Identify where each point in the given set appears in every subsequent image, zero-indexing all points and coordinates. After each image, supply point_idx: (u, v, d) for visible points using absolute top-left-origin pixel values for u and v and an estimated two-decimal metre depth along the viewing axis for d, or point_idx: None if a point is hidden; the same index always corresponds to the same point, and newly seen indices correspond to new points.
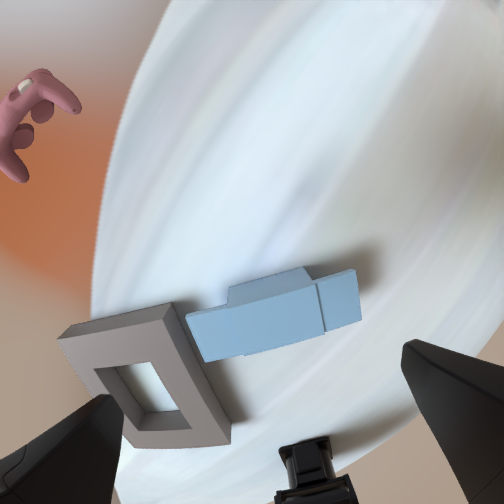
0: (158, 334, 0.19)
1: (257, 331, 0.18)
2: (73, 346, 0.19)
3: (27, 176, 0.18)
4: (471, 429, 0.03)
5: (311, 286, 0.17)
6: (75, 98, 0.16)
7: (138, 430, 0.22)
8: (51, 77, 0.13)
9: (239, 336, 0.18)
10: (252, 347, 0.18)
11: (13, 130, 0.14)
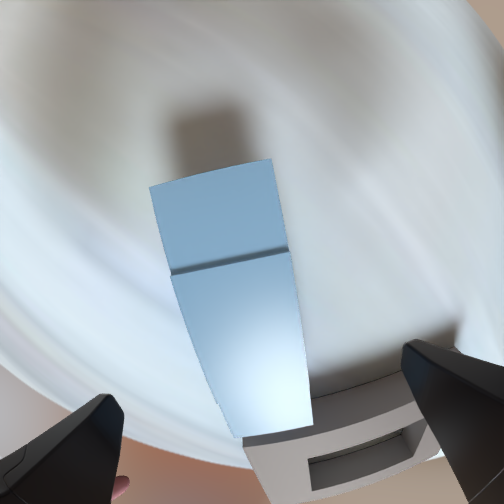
0: (265, 451, 0.12)
1: (261, 371, 0.10)
2: (281, 500, 0.15)
3: (124, 478, 0.18)
4: (471, 429, 0.03)
5: (174, 283, 0.09)
6: None
7: (412, 455, 0.15)
8: None
9: (268, 393, 0.10)
10: (294, 377, 0.10)
11: None
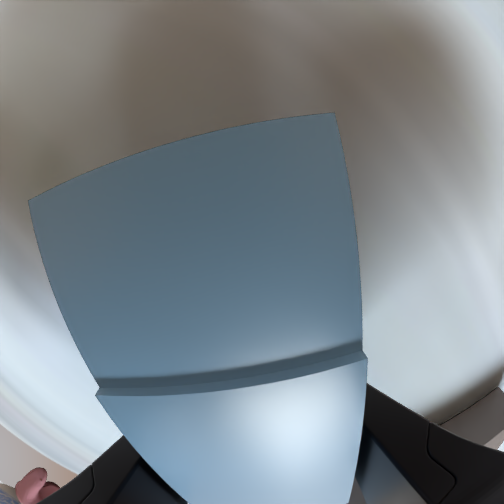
0: None
1: (280, 502, 0.04)
2: None
3: None
4: (375, 478, 0.03)
5: (106, 405, 0.03)
6: (32, 473, 0.10)
7: None
8: (18, 487, 0.08)
9: None
10: (330, 500, 0.04)
11: None
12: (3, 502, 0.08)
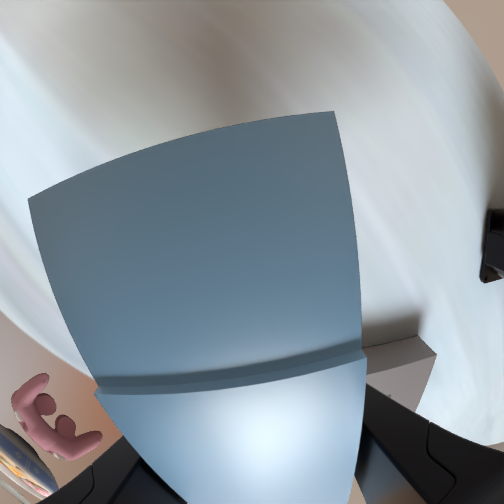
0: None
1: (279, 502, 0.04)
2: None
3: (97, 433, 0.20)
4: (375, 478, 0.03)
5: (105, 404, 0.03)
6: (35, 377, 0.17)
7: None
8: (17, 392, 0.15)
9: None
10: (329, 499, 0.04)
11: (52, 434, 0.16)
12: None
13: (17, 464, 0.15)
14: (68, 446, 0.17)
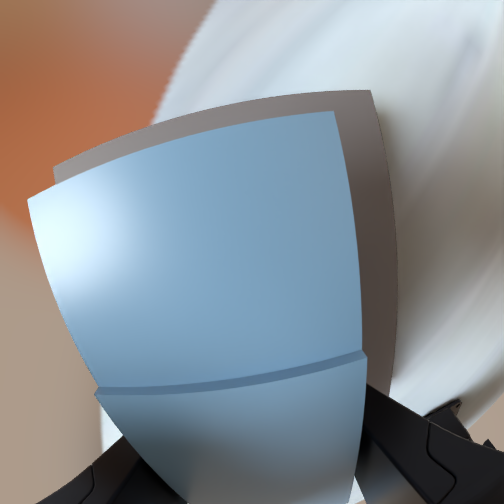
0: (357, 121, 0.08)
1: (280, 502, 0.04)
2: None
3: None
4: (375, 478, 0.03)
5: (105, 405, 0.03)
6: None
7: None
8: None
9: None
10: (330, 499, 0.04)
11: None
12: None
13: None
14: None
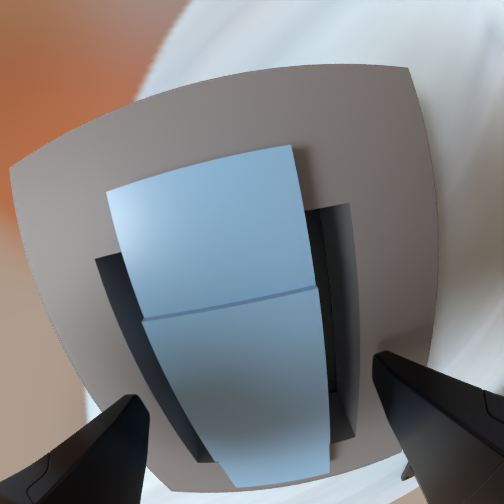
0: (395, 105, 0.05)
1: (271, 432, 0.07)
2: (49, 176, 0.06)
3: None
4: (436, 450, 0.03)
5: (148, 330, 0.06)
6: None
7: (198, 460, 0.09)
8: None
9: (279, 452, 0.07)
10: (313, 435, 0.07)
11: None
12: None
13: None
14: None
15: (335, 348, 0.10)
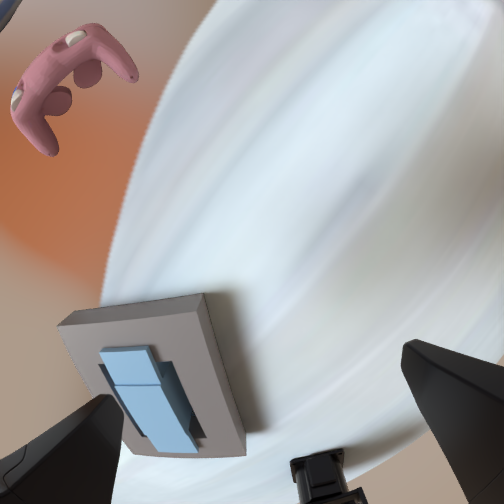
0: (188, 329, 0.16)
1: (160, 425, 0.18)
2: (76, 336, 0.17)
3: (57, 149, 0.16)
4: (471, 429, 0.03)
5: (116, 388, 0.17)
6: (133, 64, 0.14)
7: (142, 436, 0.19)
8: (109, 35, 0.11)
9: (167, 434, 0.18)
10: (177, 430, 0.18)
11: (50, 89, 0.12)
12: None
13: None
14: (33, 112, 0.12)
15: None
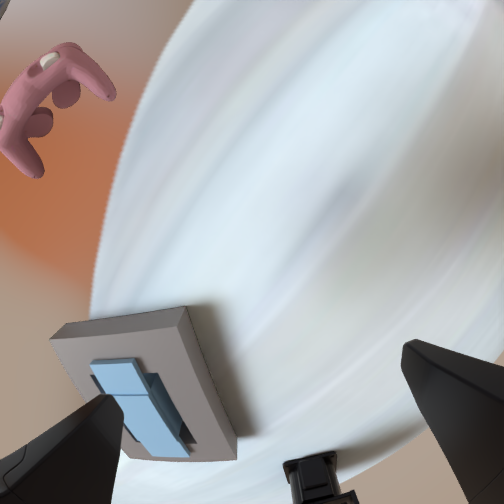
0: (170, 343, 0.16)
1: (152, 432, 0.18)
2: (68, 348, 0.17)
3: (42, 170, 0.15)
4: (471, 429, 0.03)
5: None
6: (110, 82, 0.14)
7: (136, 441, 0.20)
8: (83, 54, 0.11)
9: (158, 440, 0.18)
10: (167, 436, 0.18)
11: (29, 114, 0.11)
12: None
13: None
14: (15, 137, 0.12)
15: None
